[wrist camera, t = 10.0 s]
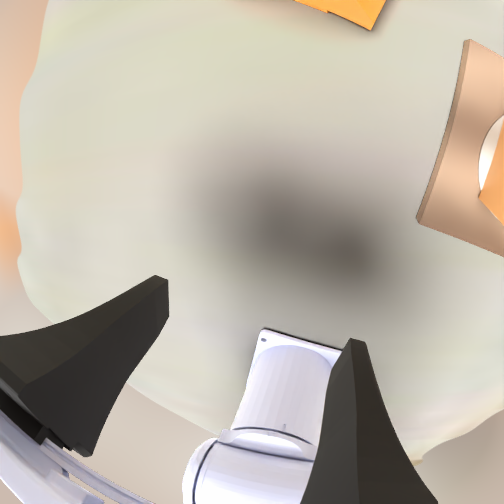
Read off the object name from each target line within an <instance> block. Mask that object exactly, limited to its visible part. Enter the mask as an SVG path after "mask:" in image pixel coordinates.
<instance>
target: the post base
mask: <svg viewBox="0 0 504 504" xmlns="http://www.w3.org/2000/svg"><path fill="white" fill-rule="evenodd" d="M503 120H504V58H503V57H502V56H500V55H498V54H497V53H495V52H493V51H491V50H490V49H488V48H486V47H484V46H483V45H481V44H479V43H477V42H475V41H473V40H471V39H469V40H466V41H464V47H463V53H462V59H461V65H460V70H459V75H458V80H457V85H456V90H455V94H454V99H453V103H452V107H451V111H450V115H449V119H448V123H447V127H446V130H445V134H444V137H443V141H442V144H441V148H440V151H439V154H438V157H437V160H436V164H435V167H434V170H433V173H432V176H431V178H430V181H429V184H428V187H427V190H426V193H425V195H424V198H423V201H422V203H421V206H420V209H419V211H418V214H417V216H416V218H417V220H418V223H419V224H421V225H423V226H426V227H429V228H432V229H434V230H437V231H440V232H443V233H445V234H448V235H451V236H453V237H456V238H458V239H461V240H463V241H466V242H469V243H471V244H474V245H476V246H479V247H481V248H483V249H486V250H488V251H491V252H493V253H495V254H498V255H500V256H502V257H504V225H503V224H502V223H501V222H500V221H499V220H498V219H497V217H496V216H495V215H494V214H493V213H492V212H491V211H490V210H489V209H488V208H487V207H486V206H485V205H484V204H483V202H482V201H481V200H480V199H479V195H480V193H481V190H482V188H483V185H484V182H485V179H486V177H487V174H488V171H489V168H490V165H491V162H492V159H493V156H494V152H495V149H496V146H497V142H498V139H499V135H500V132H501V128H502V124H503Z"/></svg>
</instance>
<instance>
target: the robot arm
mask: <svg viewBox="0 0 504 504" xmlns="http://www.w3.org/2000/svg"><path fill="white" fill-rule="evenodd" d="M168 317H169V295H168V280H167V279H164V278H162V277H159V276H156V275H154V276H152V277H150V278H149V279H147V280H145V281H143V282H142V283H140V284H138V285H136V286H135V287H133V288H131V289H129V290H128V291H126V292H124V293H122V294H121V295H119V296H117V297H115V298H113V299H112V300H110V301H108V302H106V303H104V304H102V305H100V306H98V307H96V308H94V309H92V310H90V311H88V312H86V313H84V314H81V315H79V316H77V317H74V318H72V319H69V320H67V321H64V322H61V323H58V324H55V325H52V326H48V327H46V328H42V329H38V330H34V331H29V332H25V333H20V334H13V335H7V336H0V479H1V480H2V481H3V482H4V483H5V484H6V485H7V487H8V488H9V489H10V490H11V491H12V492H13V493H14V494H15V495H16V496H17V497H18V498H19V499H20V501H22V503H24V504H104V501H103V500H101V499H100V498H98V497H97V496H95V495H94V494H92V493H91V492H89V491H87V490H86V489H84V488H83V487H81V486H79V485H78V484H76V483H75V482H73V481H71V480H70V479H69V474H68V472H70V473H71V474H72V475H74V476H76V477H77V478H78V479H80V480H81V481H83V482H84V483H86V484H87V485H89V486H91V487H92V488H94V489H96V490H97V491H99V492H100V493H102V494H104V495H105V496H107V497H109V498H111V499H112V500H114V501H116V502H118V503H120V504H154V503H152V502H150V501H148V500H146V499H144V498H142V497H140V496H138V495H136V494H134V493H132V492H130V491H128V490H126V489H124V488H122V487H121V486H119V485H117V484H115V483H114V482H112V481H110V480H108V479H106V478H105V477H103V476H101V475H100V474H98V473H97V472H95V471H93V470H92V469H90V468H89V467H87V466H85V465H84V464H82V463H81V462H79V461H78V460H76V459H75V458H73V457H72V456H71V455H69V454H68V453H66V452H65V451H63V450H62V449H63V447H65V448H66V449H68V450H69V451H71V450H72V449H73V450H74V451H76V452H77V453H79V454H80V455H82V456H83V457H89V456H92V454H93V451H94V448H95V446H96V443H97V441H98V438H99V436H100V433H101V431H102V428H103V426H104V424H105V422H106V419H107V417H108V415H109V413H110V411H111V409H112V407H113V405H114V403H115V401H116V399H117V397H118V395H119V393H120V392H121V389H122V388H123V386H124V384H125V383H126V381H127V379H128V378H129V376H130V375H131V373H132V372H133V371H134V369H135V368H136V366H137V365H138V364H139V362H140V361H141V360H142V358H143V357H144V355H145V354H146V353H147V351H148V350H149V348H150V347H151V346H152V344H153V343H154V342H155V340H156V339H157V337H158V336H159V334H160V332H161V330H162V329H163V327H164V325H165V323H166V321H167V319H168ZM264 338H265V339H264ZM246 386H247V388H246V390H245V393H244V395H243V398H242V401H241V403H240V406H239V408H238V411H237V413H236V416H235V418H234V421H233V423H232V426H231V428H230V430H229V429H222V432H221V434H220V436H219V439H218V438H210V439H208V440H206V441H205V442H204V443H202V444H200V445H199V446H198V447H197V449H196V450H195V451H194V453H193V454H192V456H191V458H190V460H189V462H188V464H187V467H186V470H185V473H184V477H183V484H182V490H183V495H184V500H183V504H438V501H437V500H436V499H435V497H434V496H433V495H432V493H431V492H430V491H429V489H428V488H427V487H426V485H425V484H424V483H423V481H422V480H421V478H420V477H419V475H418V473H417V472H416V470H415V469H414V467H413V465H412V463H411V462H410V460H409V458H408V456H407V455H406V453H405V451H404V449H403V447H402V445H401V443H400V441H399V439H398V437H397V435H396V433H395V430H394V428H393V426H392V423H391V421H390V418H389V416H388V413H387V410H386V408H385V405H384V402H383V399H382V396H381V393H380V390H379V387H378V384H377V381H376V378H375V374H374V371H373V367H372V364H371V360H370V357H369V353H368V349H367V346H366V343H365V342H364V341H360V340H356V339H352V338H350V339H349V340H348V342H347V344H346V346H345V347H344V349H343V351H339V350H335V349H332V348H328V347H324V346H321V345H317V344H314V343H310V342H306V341H303V340H299V339H296V338H293V337H289V336H286V335H282V334H279V333H276V332H273V331H269V330H265V329H264V330H261V332H260V334H259V338H258V342H257V346H256V349H255V353H254V357H253V361H252V365H251V368H250V372H249V376H248V380H247V383H246ZM66 470H67V471H68V472H67V471H66Z"/></svg>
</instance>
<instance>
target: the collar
mask: <svg viewBox="0 0 504 504" xmlns="http://www.w3.org/2000/svg"><path fill="white" fill-rule="evenodd" d="M479 199H480V200H481V201H482V202H483V204H484V205H485V206H486V207H487V208H488V209H489V210H490V211H491V212H492V213H493V214H494V215H495V216H496V217H497V219H498V220H499V221H500V222H501V223H502V224H503V225H504V120H503V124H502V128H501V132H500V135H499V139H498V142H497V146H496V149H495V152H494V156H493V159H492V162H491V165H490V168H489V171H488V174H487V177H486V179H485V182H484V185H483V188H482V190H481V193H480V195H479Z"/></svg>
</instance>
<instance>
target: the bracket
mask: <svg viewBox="0 0 504 504" xmlns="http://www.w3.org/2000/svg"><path fill="white" fill-rule="evenodd" d="M294 1H297V2H300V3H302V4H305V5H308V6H310V7H313V8H316V9H318V10H321V11H323V12H326V13H328V12H329V11H330V12H332V13H335V14H337V15H339V16H342V17H344V18H346V19H348V20H350V21H352V22H355V23H357V24H359V25H361V26H363V27H365V28H367V29H369V30H371V29H372V27H373V25H374V23H375V21H376V19H377V17H378V15H379V13H380V11H381V9H382V7H383V5H384V3H385V1H386V0H294Z"/></svg>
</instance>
